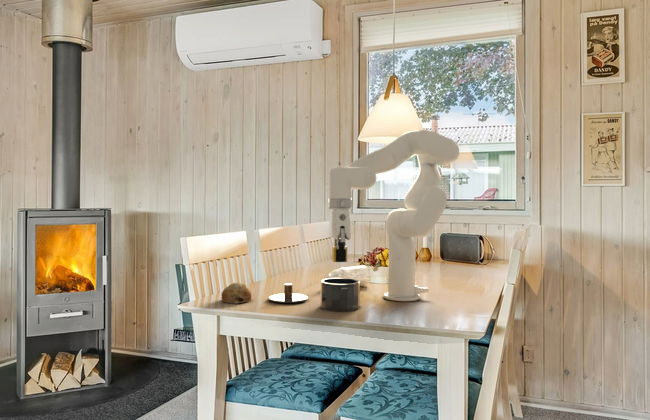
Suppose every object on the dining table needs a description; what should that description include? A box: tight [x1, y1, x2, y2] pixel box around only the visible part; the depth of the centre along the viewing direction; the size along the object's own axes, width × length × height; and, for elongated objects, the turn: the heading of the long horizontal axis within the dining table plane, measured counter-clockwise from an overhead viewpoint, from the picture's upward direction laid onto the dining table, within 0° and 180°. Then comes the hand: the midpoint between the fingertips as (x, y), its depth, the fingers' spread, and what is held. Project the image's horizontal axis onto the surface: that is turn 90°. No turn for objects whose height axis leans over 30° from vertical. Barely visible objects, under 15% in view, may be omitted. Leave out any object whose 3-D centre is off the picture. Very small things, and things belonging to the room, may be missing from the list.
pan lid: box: [268, 283, 309, 304], centre depth 180 cm, size 13×13×6 cm
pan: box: [320, 278, 361, 312], centre depth 170 cm, size 12×18×8 cm
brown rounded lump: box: [221, 282, 252, 305], centre depth 178 cm, size 10×10×8 cm
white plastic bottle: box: [323, 265, 372, 287], centre depth 205 cm, size 8×19×8 cm, turn 125°
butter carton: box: [331, 245, 348, 263], centre depth 170 cm, size 4×4×5 cm
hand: (339, 260), depth 170 cm, fingers closed on butter carton, 3 cm apart
